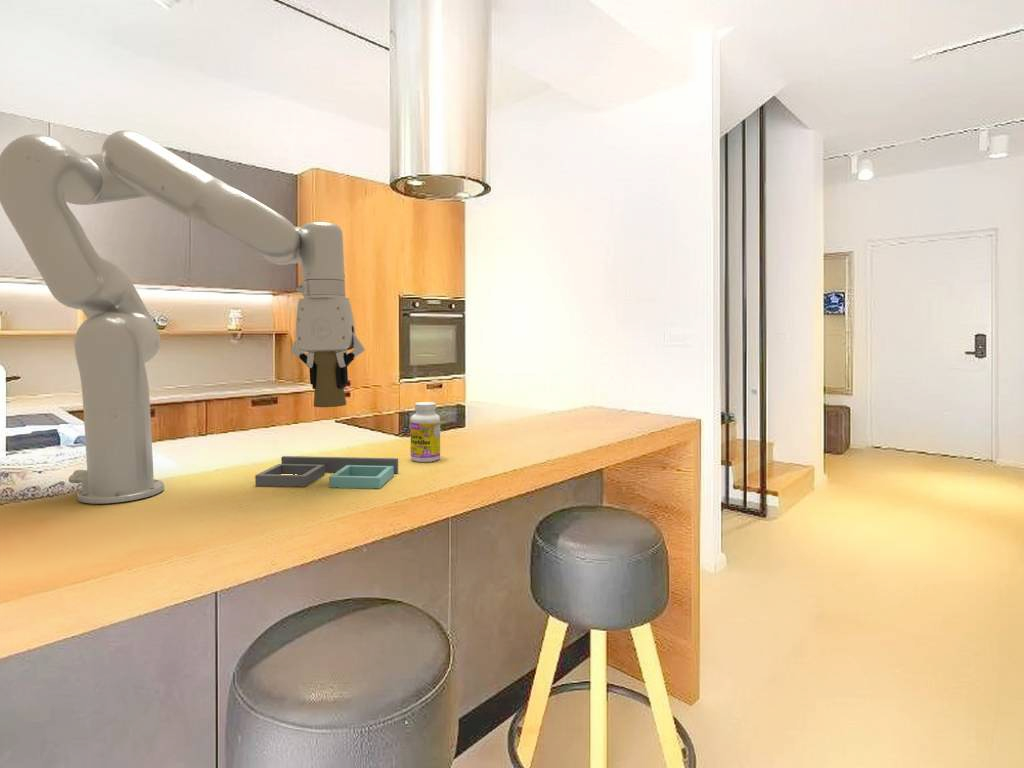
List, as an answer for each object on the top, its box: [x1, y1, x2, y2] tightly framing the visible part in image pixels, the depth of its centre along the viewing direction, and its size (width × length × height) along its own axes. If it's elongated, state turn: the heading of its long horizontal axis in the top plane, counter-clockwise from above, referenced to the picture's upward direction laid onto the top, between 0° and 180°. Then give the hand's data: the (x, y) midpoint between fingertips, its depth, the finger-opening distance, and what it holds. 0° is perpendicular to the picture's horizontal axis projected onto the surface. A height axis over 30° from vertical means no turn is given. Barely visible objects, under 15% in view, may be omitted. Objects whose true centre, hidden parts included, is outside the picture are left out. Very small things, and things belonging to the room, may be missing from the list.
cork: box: [313, 351, 347, 408], centre depth 110 cm, size 6×6×11 cm
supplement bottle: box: [409, 401, 441, 463], centre depth 130 cm, size 7×7×13 cm
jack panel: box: [254, 455, 399, 489], centre depth 112 cm, size 24×12×3 cm, turn 87°
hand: (329, 387), depth 110 cm, fingers closed on cork, 4 cm apart
